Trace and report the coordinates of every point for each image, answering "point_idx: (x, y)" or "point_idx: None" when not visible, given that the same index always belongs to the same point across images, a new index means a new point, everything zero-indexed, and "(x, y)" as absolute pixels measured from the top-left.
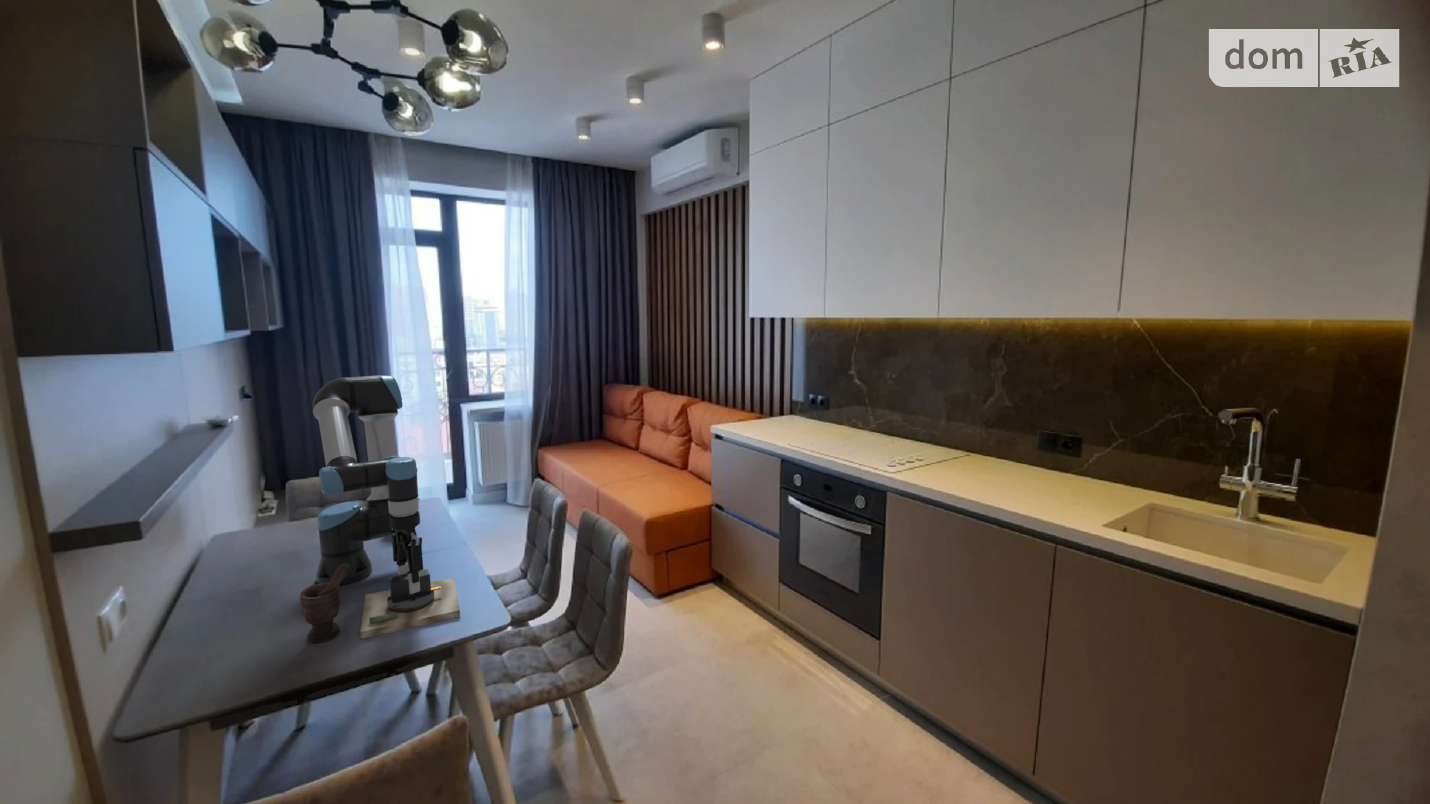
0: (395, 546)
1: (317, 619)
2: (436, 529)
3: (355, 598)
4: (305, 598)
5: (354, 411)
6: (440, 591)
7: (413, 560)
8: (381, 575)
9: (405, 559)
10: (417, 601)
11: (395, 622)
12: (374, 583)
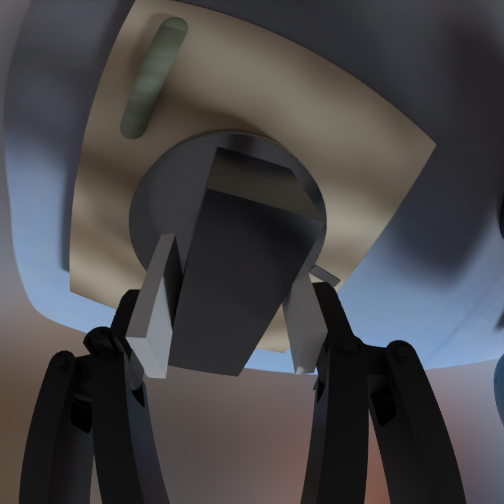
0: (419, 475)
1: None
2: (475, 353)
3: (456, 133)
4: None
5: None
6: None
7: (29, 439)
8: (480, 242)
9: (319, 397)
10: (143, 232)
11: (102, 115)
12: (472, 213)
